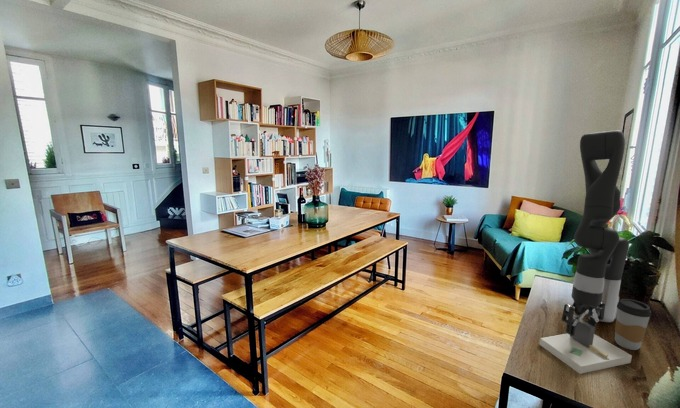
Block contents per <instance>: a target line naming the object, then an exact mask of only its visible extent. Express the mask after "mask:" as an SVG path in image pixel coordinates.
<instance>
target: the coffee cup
mask: <svg viewBox="0 0 680 408" xmlns="http://www.w3.org/2000/svg"><path fill="white" fill-rule="evenodd" d="M651 316H652V310H651V307H650V306H649V304H647V303H644V302H641V301H639V300H636V299H630V298H621V299H619V302H618V304H617V313H616V318H615V328H614V331H615V333H614V334H615V335H614V341H615V343H616V345H619V346H620V347H622V348H623V349H627V350H630V351H638V350H639V349H640V348H641V346H642V343H643V340H644V338H645V334H646V331H647V328H648V324H649V321H650V318H651Z"/></svg>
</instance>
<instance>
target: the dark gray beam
mask: <svg viewBox="0 0 680 408" xmlns="http://www.w3.org/2000/svg"><path fill="white" fill-rule="evenodd" d="M574 319H575V318H573V319H572V321H574ZM575 326H576V327H575V334H574V336H571V335H570V337H571V338H573V339H575V340H576V341H578V342H579V343H581V344H583V345H584V346H586V347H587V348H588V347H589V348H591V349H593V350H594V351H596V352H597V353H599V354H601V355H602V356H604V357H608V355H607V354H606V353H604V352H602V351H601V350H599V349H597V348H596V347H594V346H593V345H592V344H593V338H594V334H595V332H596V330H595V327H594V326H592V325H590V324H589V323H588V321H587V322H586V321H585V320H583V319H582V320H581V321H578V322H577V324H576V325H575Z"/></svg>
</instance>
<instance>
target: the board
mask: <svg viewBox="0 0 680 408" xmlns="http://www.w3.org/2000/svg"><path fill="white" fill-rule="evenodd" d="M592 345H593V346H594V347H596V348H597V349H599V350H601V351H602V352H604V353H606V354H607V355H608V357H604V356H602V355H601V354H599V353H597V352H596V351H594V350H593V349H591V348H589V347H588V348H587V347H586V346H584V345H583V344H581V343H579V342H578V341H576V340H575V339H573V338H571V337H570V335H569V334H567V332H566V333H562V334H557V335H556V334H554V335H550V336H545V337H540V338H539V346H540V347H542V348H544V349H545V350H546V351H548V353H550V354H552V355H553V356H554V357H556V358H557V359H559V360H560V361H562V362H563V363H564V364H565V365H567V366H568V367H569V368H571V369H572V370H574V371H575V372H576V373H578V374H579V375H581V374H582V375H583V374H586V373H589V372H591V373H592V372H594V371H600V370H604V369H608V368H615V367H617V366H622V365H627V364H631V363H632V357H633V355H631V354H630V353H628V352H627V351H625V350H623V349H622V348H619V346H616V345H614V344H612V343H610V342H609V341H607V340H605V339H604V338H601V336H599V335H597V334H595V333H594V338H593V344H592Z"/></svg>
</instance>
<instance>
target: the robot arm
mask: <svg viewBox="0 0 680 408" xmlns="http://www.w3.org/2000/svg"><path fill="white" fill-rule="evenodd" d="M625 139H626V138H625V134H624V132H623V131H622V130H619V129H616V130H615V129H614V130H607V131H597V132H590V133H585V134H582V136H581V138H580V141H579V150H580V151H579V152H580V156H581V163H582V169H583V174H584V182H585V184H584V185H585V197H584V198H585V199H584V206H583V207H584V208H583V214H582V217H581V220H580V223H579V225H578V227H577V229H576V231H575V232H574V236H573V239H574V242H575V244H576V245H577V246H578V247H579V248H584V249H588V251H589V252H590V253H583V254H580V255H579V256H578V257H577V265H576V271H575V274H574V278H573V283H572V289H571V298H572V300H573V303H572V304H568V303H565V304H564V306H563V310H562V311H563V312H562V315H561V316H562V317H561V321H562V322H564V323H565V324H566V329H565V332H566V333H567V334H569V335H571V336H574V334H575V327H576V326H575V325H576V324H577V322H578V321H581V320H583V319H585V318H588V320H587V323H589V324H590V325H592V326H594V327H595V331H596V329H597V325H598V322H602V323H603V322H604V323H613V322H614V321H615V320H616V318H617V304H618V302H620V296H619V295H620V289H621V283H622V277H623V273H624V270H625V264H626V260H627V258H628V257H627V256H628V253H629V248H630V244H629V240H628V239H627V238H625V237H621V236H620V234H619V233H618V232H617V230H616V229H614V228H612V227H605V226H606V225H607V223H609V221H611V220H612V219H613V218H614V217H615V216H616V215H617V214H618V213H619V211H620V208H621V192H620V191H621V190H620V189H619V188H618V186H617V183H618V179H619V176H620V171H621V168H622V163H623V158H624V153H625V145H626V144H625V143H626V141H625ZM603 160H604V161H605V160H608V162H607V165H606V167H605V169H604V170H603V171H602V170H601V169H600V167H599V165H598V163H597V161H603ZM608 262H609V263H608ZM573 318H575V319H574V321H572V319H573Z"/></svg>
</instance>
